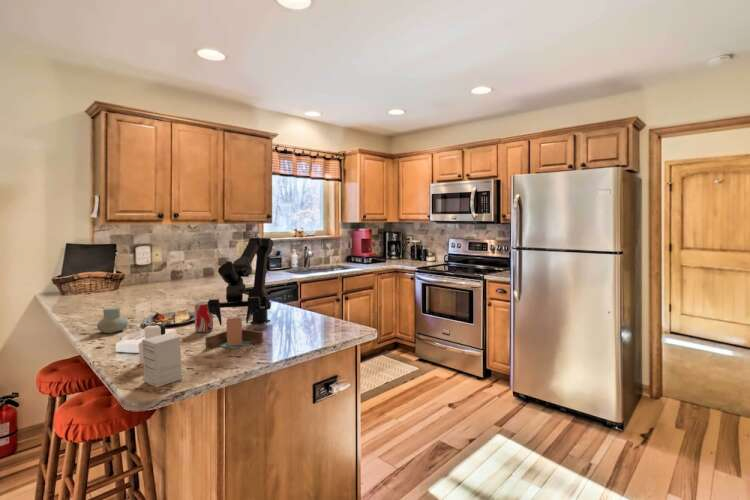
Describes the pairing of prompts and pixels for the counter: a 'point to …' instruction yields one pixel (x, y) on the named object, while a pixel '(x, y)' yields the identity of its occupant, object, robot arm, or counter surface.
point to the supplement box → (162, 359)
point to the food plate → (170, 318)
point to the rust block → (234, 331)
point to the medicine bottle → (151, 335)
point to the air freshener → (112, 321)
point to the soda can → (203, 317)
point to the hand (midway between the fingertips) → (233, 323)
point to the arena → (221, 341)
